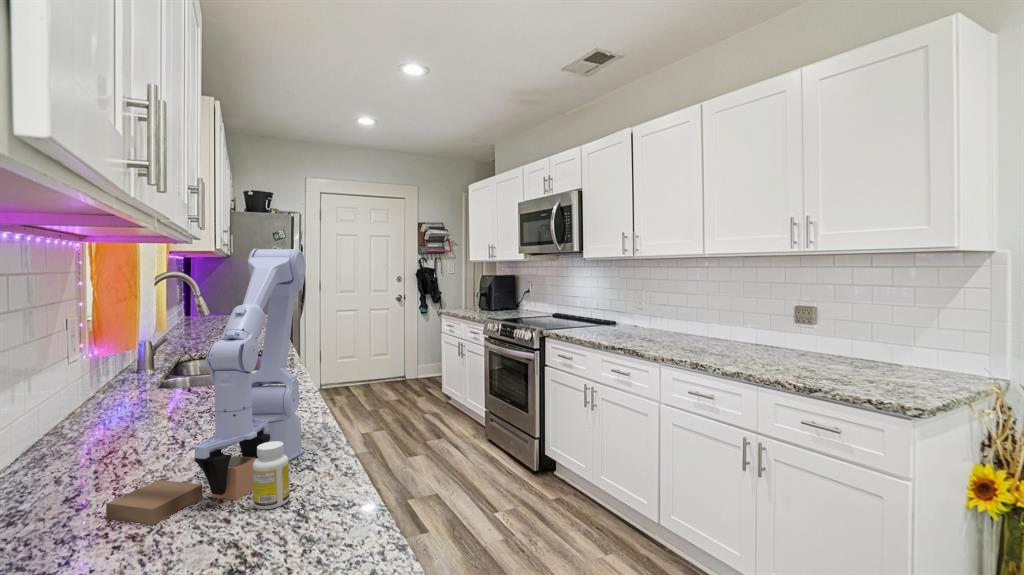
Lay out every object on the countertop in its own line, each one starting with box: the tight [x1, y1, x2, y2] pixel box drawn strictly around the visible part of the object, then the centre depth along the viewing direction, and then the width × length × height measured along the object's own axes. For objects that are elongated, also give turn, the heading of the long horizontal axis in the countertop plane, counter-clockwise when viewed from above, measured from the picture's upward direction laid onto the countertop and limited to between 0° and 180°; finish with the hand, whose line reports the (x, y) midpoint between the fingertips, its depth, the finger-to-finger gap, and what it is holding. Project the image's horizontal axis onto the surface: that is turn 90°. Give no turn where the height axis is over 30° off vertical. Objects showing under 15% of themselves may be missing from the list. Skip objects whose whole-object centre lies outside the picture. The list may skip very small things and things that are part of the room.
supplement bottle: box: [252, 441, 290, 510], centre depth 82 cm, size 5×5×10 cm
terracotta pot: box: [212, 455, 257, 501], centre depth 86 cm, size 5×5×6 cm
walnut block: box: [105, 479, 203, 527], centre depth 80 cm, size 9×9×3 cm
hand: (235, 484), depth 86 cm, fingers open, 7 cm apart
